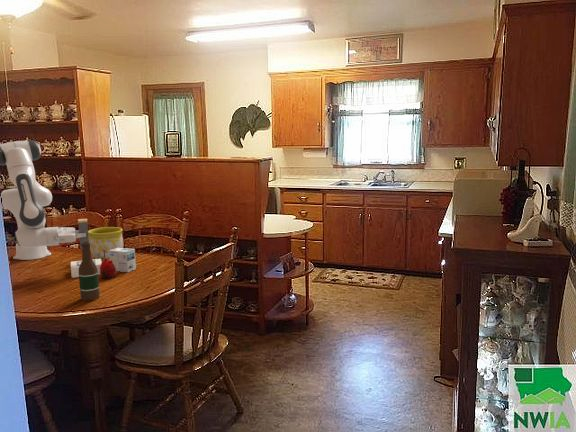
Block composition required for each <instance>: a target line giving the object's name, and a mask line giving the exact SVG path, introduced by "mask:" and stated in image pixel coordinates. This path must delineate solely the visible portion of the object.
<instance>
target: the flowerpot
mask: <svg viewBox="0 0 576 432" xmlns="http://www.w3.org/2000/svg"><path fill="white" fill-rule="evenodd" d="M122 232H123V228H122V227H116V226H106V227H105V226H104V227H96V228H92V229H88V236H89V242H90V250H91V256H93V259H101V262H103V260H104V259H105V257H106V259H107V260H110V250H112V249H116V248H124V238H123V233H122ZM103 249H104V250H105V251H107V252H108V253H106V252H105V255H106V256H105V257H104V252H103V251H104V250H103Z"/></svg>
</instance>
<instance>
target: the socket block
mask: <svg viewBox="0 0 576 432" xmlns="http://www.w3.org/2000/svg"><path fill="white" fill-rule="evenodd" d="M92 261H93V262H94V263H95V265H96V267H97V271H98V276H100V266H101V263H102V262H101V259H92ZM81 262H82V260H75V261H70V274H71V278H73V279H75V278H79V266H80V264H81Z"/></svg>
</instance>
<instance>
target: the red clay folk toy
mask: <svg viewBox="0 0 576 432" xmlns="http://www.w3.org/2000/svg"><path fill="white" fill-rule="evenodd" d="M103 250H104V249H103ZM103 252H104V257H105V256H106V255H105V252H106V253H108V252H107V251H105V250H104V251H103ZM99 276H100V277H101V278H102V279H105V280H106V279H107V280H108V279H113V278H116V277H117V271H116V268H115V265H114V264H113V261H112V260H107V259H106V257H105V259H104V260H103V262H102V263H101V266H100V274H99Z"/></svg>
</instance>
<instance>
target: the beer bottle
mask: <svg viewBox="0 0 576 432" xmlns="http://www.w3.org/2000/svg"><path fill="white" fill-rule="evenodd" d="M81 246H82V249H81V261H82V262H81V264H80V266H79V277H78V281H79V283H78V284H79V294H80V299H81V301H82V300H84V301H83V302H91V301H90V300H93V301H96V300H98V299H100V282H99V275H98V271H97V267H96V265H95V263H94V262H93V261H92V254H91V250H90V242H83V243H81ZM97 298H98V299H97ZM95 299H96V300H95Z"/></svg>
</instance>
